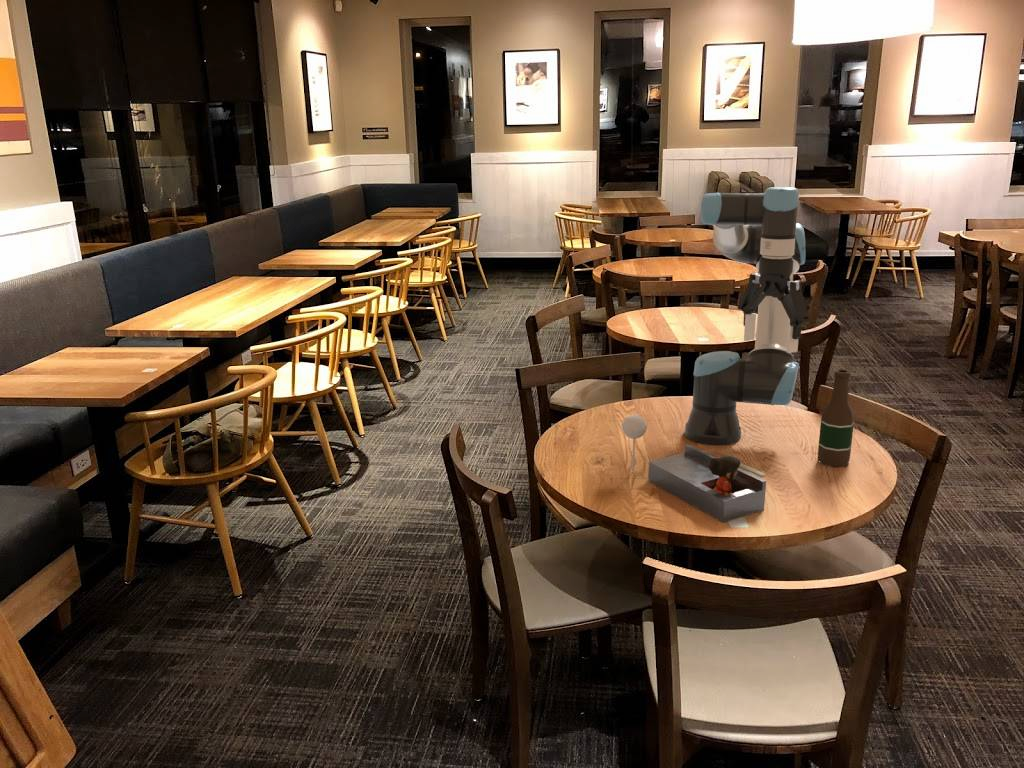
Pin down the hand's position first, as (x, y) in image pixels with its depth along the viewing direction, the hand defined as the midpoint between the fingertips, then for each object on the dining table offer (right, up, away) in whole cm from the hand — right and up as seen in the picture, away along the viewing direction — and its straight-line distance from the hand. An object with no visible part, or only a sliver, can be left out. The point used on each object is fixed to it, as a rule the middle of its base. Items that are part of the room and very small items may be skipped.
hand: (769, 346), depth 194 cm
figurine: (-14, -37, -10) cm, 40 cm away
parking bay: (-7, -31, +7) cm, 33 cm away
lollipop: (-31, -31, +9) cm, 45 cm away
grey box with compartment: (-17, -35, -4) cm, 39 cm away
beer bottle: (+20, -29, +13) cm, 38 cm away
